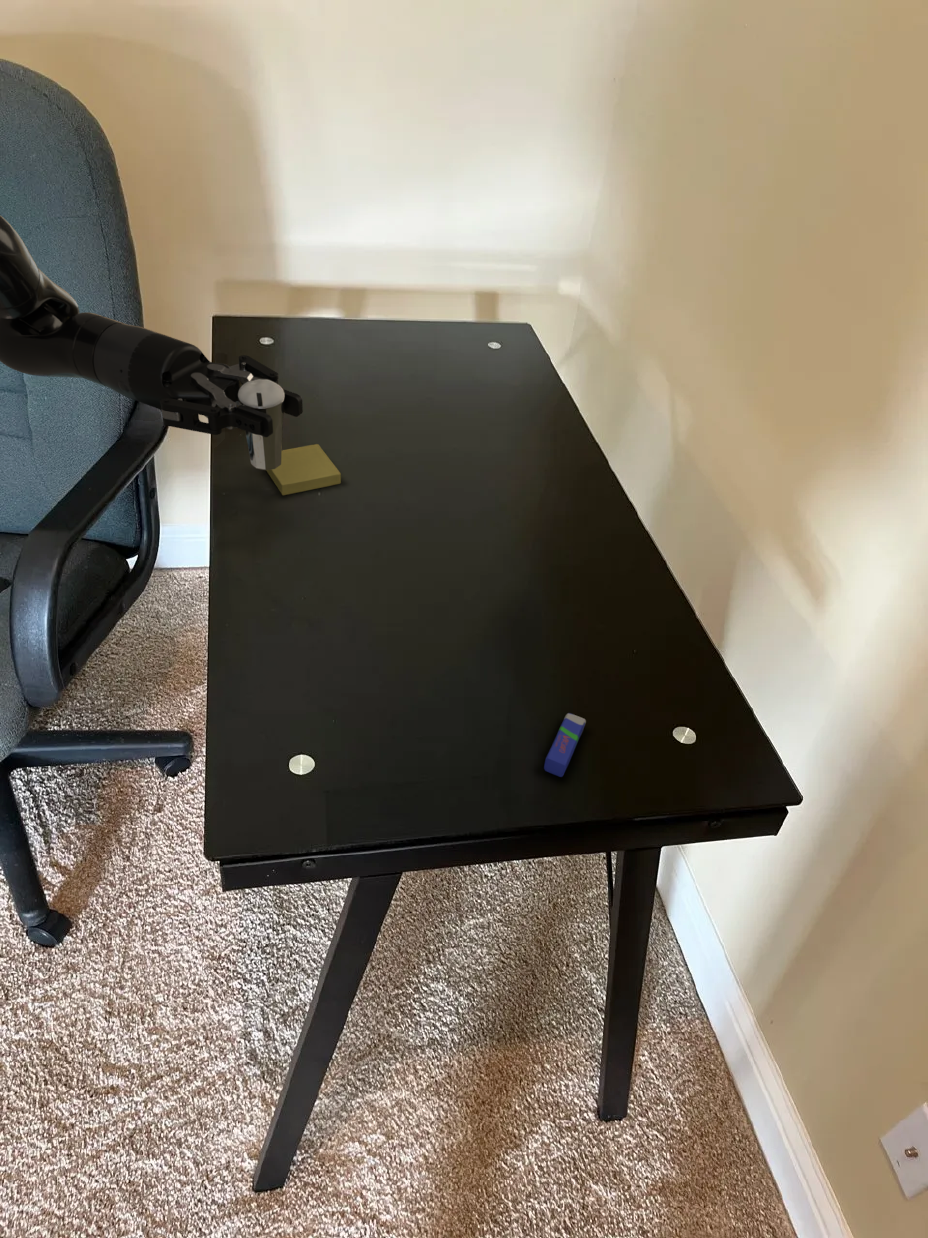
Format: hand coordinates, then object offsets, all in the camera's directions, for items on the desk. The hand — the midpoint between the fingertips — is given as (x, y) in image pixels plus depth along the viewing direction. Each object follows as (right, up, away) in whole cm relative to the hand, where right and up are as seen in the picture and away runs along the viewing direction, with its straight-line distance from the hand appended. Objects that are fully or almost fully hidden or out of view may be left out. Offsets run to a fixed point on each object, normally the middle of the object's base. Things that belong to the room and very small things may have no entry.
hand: (285, 416), depth 83 cm
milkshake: (-3, -4, +5) cm, 7 cm away
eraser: (+27, -33, -9) cm, 43 cm away
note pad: (-3, -2, +21) cm, 21 cm away
